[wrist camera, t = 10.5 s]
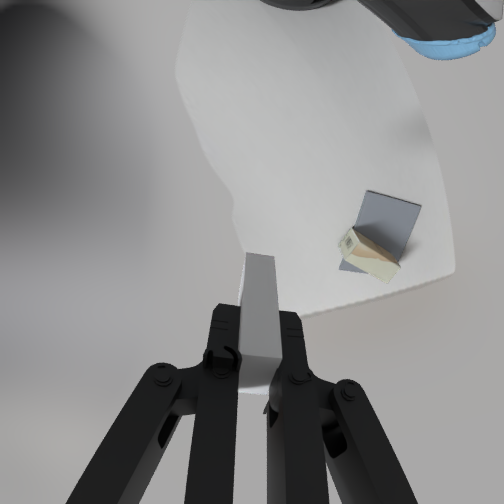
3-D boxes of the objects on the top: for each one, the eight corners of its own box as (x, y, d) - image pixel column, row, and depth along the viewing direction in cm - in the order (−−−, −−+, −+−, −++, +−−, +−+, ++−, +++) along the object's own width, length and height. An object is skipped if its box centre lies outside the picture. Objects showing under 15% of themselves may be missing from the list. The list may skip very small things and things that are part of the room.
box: (350, 226, 47) (391, 252, 50) (336, 245, 49) (377, 268, 52) (360, 242, 42) (402, 267, 45) (344, 262, 44) (387, 284, 47)
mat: (366, 190, 44) (367, 191, 43) (420, 205, 44) (421, 206, 44) (339, 268, 52) (339, 269, 52) (390, 275, 53) (390, 276, 52)
